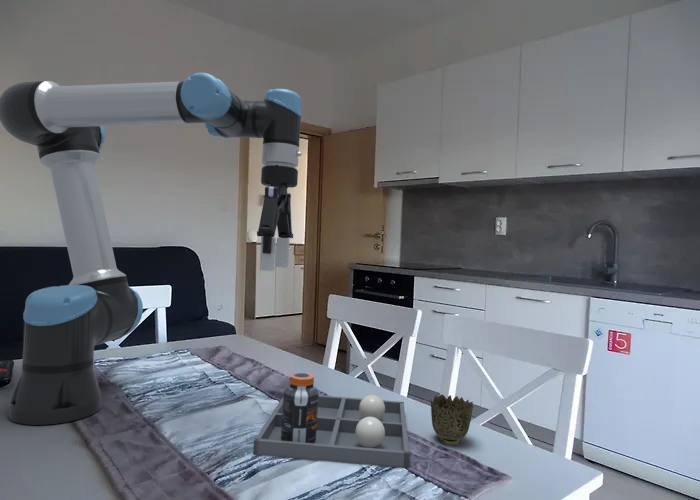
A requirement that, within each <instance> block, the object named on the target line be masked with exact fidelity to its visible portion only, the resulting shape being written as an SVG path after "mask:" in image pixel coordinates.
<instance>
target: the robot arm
mask: <svg viewBox="0 0 700 500" xmlns="http://www.w3.org/2000/svg"><path fill="white" fill-rule="evenodd" d="M301 108H302V100H301V97H300V95H299V94H298V93H297V92H295V91H294V90H290V89H286V88H274V89H273V88H272V89H269V90H267V91H266V92H265V96H264V99H263V100H244V99H243V100H242V99H241V98H240V97H239V96H238V95H236V93H234V91H232V90H231V89H230V88H229V87H228V86H227V85H226V84H225V82H223V81H222V80H221V79H220V78H217V77H215V76H214V75H212V74H209V73H207V72H196V73H193V74H192V75H190V76H188V77H186V79H185V80H183V81H160V82H136V83H133V82H132V83H111V84H110V83H109V84H108V83H107V84H106V83H105V84H86V85H85V84H83V85H81V84H80V85H59V84H58V83H56V82H54V81H52V80H40V81H39V80H36V81H35V80H33V81H23V82H19V83H18V82H17V83H15V84H13V85H11V86H9V87H7V89H5V90H4V91H3V93H2V94H1V95H0V123H1V126H2V127H3V128H4V130H6V132H7V133H9V134H10V135H11V136H12V137H14V138H16V139H17V140H19V141H21V142H23V143H26V144H30V145H33V146H36V148H37V153H38V157H39V162H40V163H41V164H42V165H43V166H45V167H46V168H48V169H49V170H50V173H51V179H52V184H53V187H54V188H53V189H54V193H55V198H56V202H57V207H58V211H59V216H60V219H61V220H60V221H61V224H62V229H63V233H64V238H65V242H66V243H65V245H66V248H67V253H68V257H69V261H70V266H71V271H72V276H73V277H72V279H71V280H70V282H69V283H68V284H67V285H58V286H56V285H54V286H47V287H44V288H41V289H37V290H34V291H33V292H31V293H30V294H29V295H28V296H27V298H26V299H25V307H24V310H23V315H22V319H23V335H22V339H23V340H22V365H21V366H22V367H21V369H22V370H21V375H20V378H19V379H18V382H17V385H16V387H15V390H14V392H13V395H12V398H11V400H10V402H9V405H8V419H9V420H10V421H12V422H14V423H17V424H21V425H28V426H29V425H30V426H43V425H45V426H46V425H55V424H57V425H58V424H64V423H68V422H74V421H77V420H80V419H84V418H87V417H89V416H91V415H93V414H96V413H97V412H98V411H99V410H100V409H101V408H102V402H103V400H102V398H103V396H102V391H101V390H100V385H99V382H98V379H97V376H96V373H95V369H94V355H95V352H94V351H95V347H96V346H99V345H103V344H105V343H107V342H112V341H115V340H116V341H117V340H120V339H122V338H123V337H125V336H127V335H129V334H131V332H133V331H134V330H135V329H136V328H137V326H138V325H139V323H140V322H141V320H142V318H143V317H142V316H143V311H144V307H143V305H144V304H143V301H142V297H140V296H141V295H140V294H139V293H138V292H137V291H135V290H134V289H133V288H132V287H130V286H129V283H128V278H127V274H125V273H124V272H123V271H121V270H119V269H118V268H117V263H116V258H115V254H114V249H113V245H112V240H111V234H110V231H109V225H108V221H107V217H106V212H105V207H104V204H103V198H102V194H101V189H100V184H99V180H98V175H97V172H96V164H97V163H98V162H99V160H100V158H101V154H100V151H101V149H102V146H103V145H102V144H103V143H105V140H106V139H105V138H106V134H105V133H106V132H105V127H112V126H113V127H118V126H119V127H120V126H143V125H171V124H204V126H205V128H206V129H207V131H208V134H210V135H211V136H213V137H219V138H220V137H222V138H224V139H229V138H247V139H248V138H249V139H250V138H252V139H262V149H261V151H262V155H261V164H262V165H263V166H262V168H261V178H260V183H261V185H263V186H265V188H264V197H263V198H264V199H263V202H262V209H261V214H260V219H259V225H258V230H257V231H256V236H257V237H260V238H261V239H260V254H259V255H260V256H259V258H260V259H259V271H265V272H266V271H267V272H275V268H289V260H290V259H289V256H290V255H289V254H290V239H294V233H293V230H292V229H293V227H292V207H291V205H292V204H291V197H292V195H291V193H288V189H289V188H296V187H297V186H298V180H299V179H298V178H299V171H298V169H297V167H298V166H299V157H301V156H302V155H303V154H302V152H301V151H300V139H301V138H300V135H301V122H302V109H301ZM276 231H277V235H278V236H277V237H275V235H276Z"/></svg>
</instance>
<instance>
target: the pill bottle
mask: <svg viewBox="0 0 700 500" xmlns="http://www.w3.org/2000/svg"><path fill="white" fill-rule="evenodd" d="M314 383H315V377H314V375H313V374H311V373H308V372H294V373H291V374H290V376H289V384H290V385H288V386H286V387H285V389H284V390H283V396H282V398H283V411H282V426H281V441H292V442H304V443H315V441H316V430H317V412H318V396H319V395H320V394H319V393H320V392H319V391H318V389H317V388H316V386H314Z"/></svg>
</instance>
